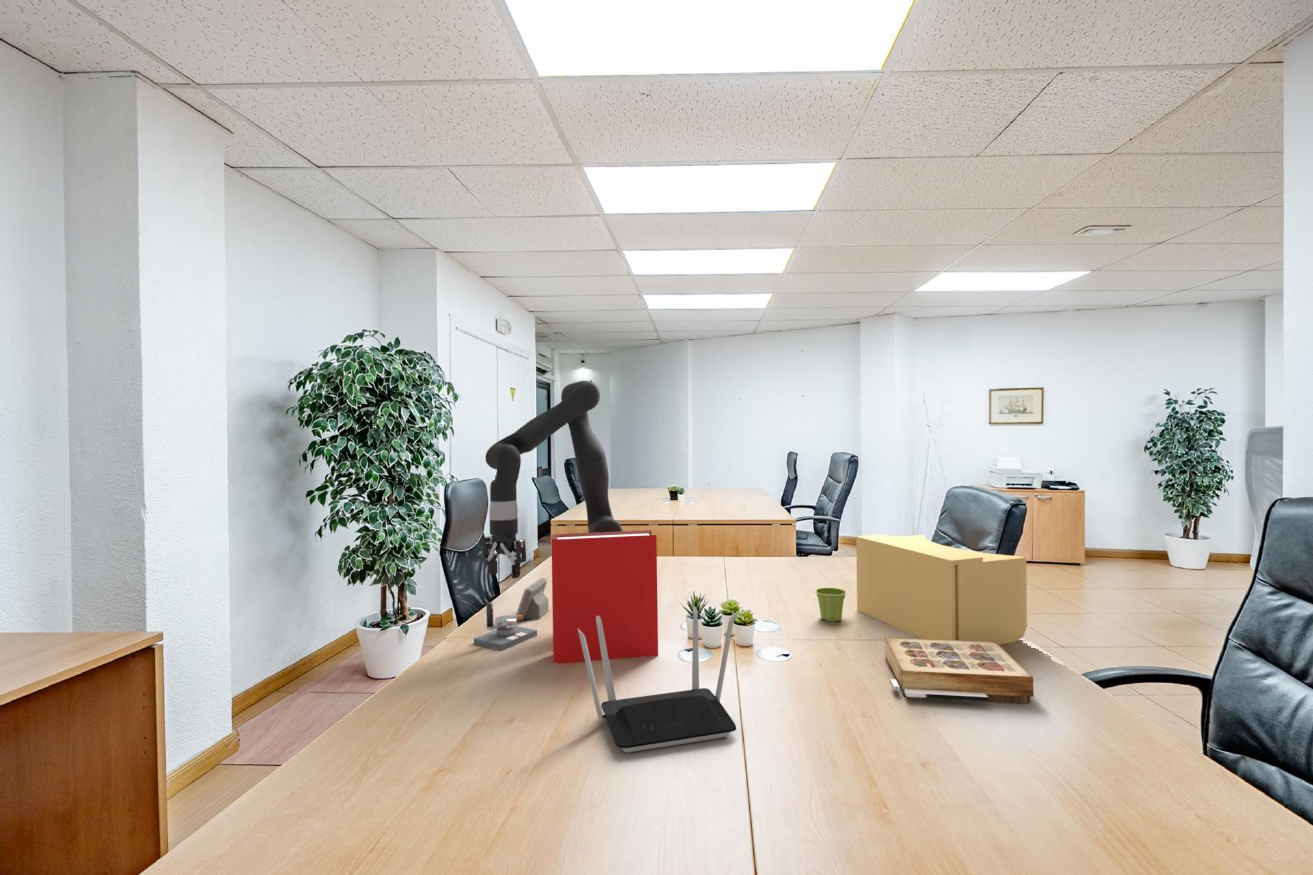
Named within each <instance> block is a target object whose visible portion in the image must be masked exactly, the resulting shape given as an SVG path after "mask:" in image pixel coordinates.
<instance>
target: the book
mask: <svg viewBox="0 0 1313 875" xmlns="http://www.w3.org/2000/svg"><path fill="white" fill-rule="evenodd" d="M550 539H551V543H550V544H551V587H552V588H551V589H552V590H551V594H552V596H551V598H552V599H551V600H552V601H551V602H552V604H551V605H552V653H553V654H552V655H553V656H552V657H553V663H554V664H558V665H563V664H572V663H573V664H574V663H585V658H584V654H583V650H582V645H581V641H580V637H579V632H578V629H579V630H580V631H581V632H582V633H583V635H584V636H585V638H586V643H587V647H588V651H589V656H590V660H591V662H599V661H602V656H601V649H600V643H599V636H598V630H597V623H596V616H600V618H601V621H602V626H603V631H604V637H605V642H606V648H607V653H608V659H609V660H610V661H611V660H623V659H625V660H626V659H635V658H636V659H637V658H647V657H658V656H659V624H658V623H659V616H658V612H659V610H658V607H659V606H658V605H659V604H658V556H657V555H658V554H657V552H658V549H657V546H658V545H657V544H658V542H657V540H658V539H657V534H652V530H651V529H649V530H648V529H646V530H645V529H644V530H625V531H624V530H622V531H620V532H597V533H589V532H581V533H580V532H576V533H574V532H573V533H556V534H551V537H550Z"/></svg>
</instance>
